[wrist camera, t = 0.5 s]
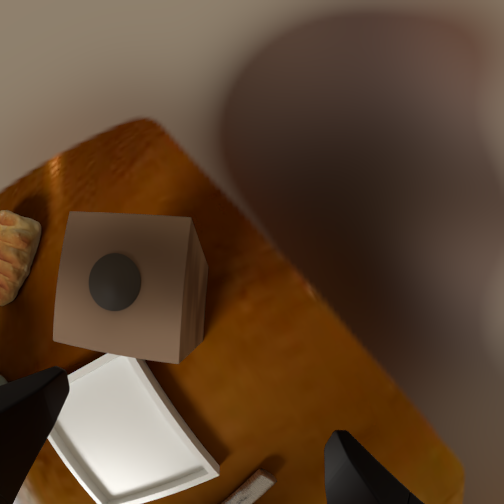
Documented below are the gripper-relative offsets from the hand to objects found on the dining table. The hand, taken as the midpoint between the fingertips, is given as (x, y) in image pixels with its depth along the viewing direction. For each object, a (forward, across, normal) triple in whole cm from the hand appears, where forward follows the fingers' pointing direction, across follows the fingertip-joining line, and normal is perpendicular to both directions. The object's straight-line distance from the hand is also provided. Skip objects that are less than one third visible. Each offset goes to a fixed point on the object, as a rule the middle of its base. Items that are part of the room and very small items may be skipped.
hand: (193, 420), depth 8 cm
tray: (+9, +7, +15) cm, 19 cm away
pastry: (+15, +22, +4) cm, 27 cm away
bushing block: (+15, +4, +3) cm, 16 cm away
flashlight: (+7, -4, +19) cm, 21 cm away
